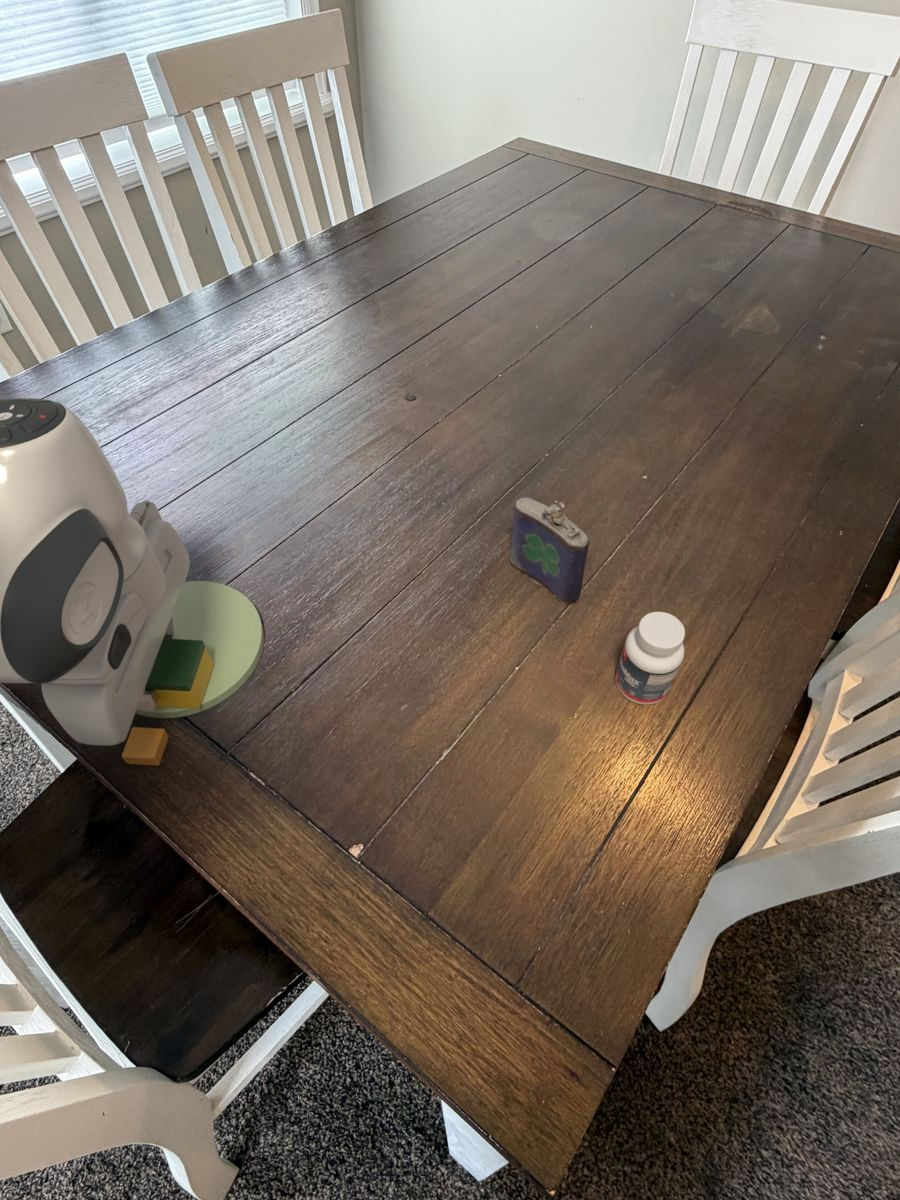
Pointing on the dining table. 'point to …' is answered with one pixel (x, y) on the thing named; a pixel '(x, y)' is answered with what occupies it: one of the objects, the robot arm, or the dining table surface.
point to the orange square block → (145, 746)
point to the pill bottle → (651, 658)
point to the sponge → (181, 673)
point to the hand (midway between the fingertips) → (159, 674)
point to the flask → (549, 548)
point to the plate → (217, 639)
